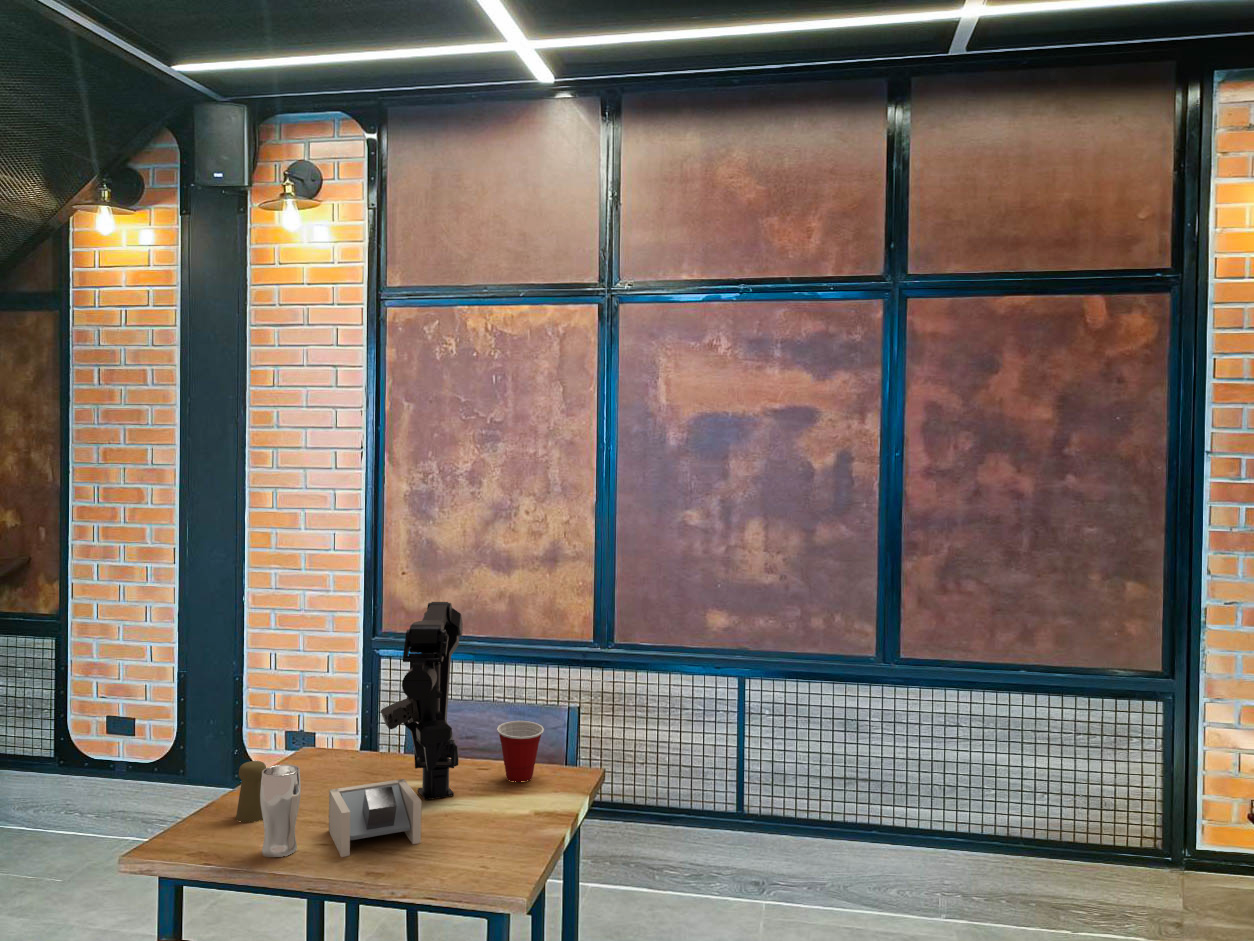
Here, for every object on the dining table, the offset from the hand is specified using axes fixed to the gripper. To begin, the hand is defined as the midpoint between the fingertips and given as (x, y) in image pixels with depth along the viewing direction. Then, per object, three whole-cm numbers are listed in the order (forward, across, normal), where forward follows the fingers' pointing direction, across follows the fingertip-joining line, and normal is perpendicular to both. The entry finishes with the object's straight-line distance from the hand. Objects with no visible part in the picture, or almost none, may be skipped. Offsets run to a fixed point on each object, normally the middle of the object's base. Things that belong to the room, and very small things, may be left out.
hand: (424, 763), depth 180 cm
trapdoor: (+7, +4, -10) cm, 13 cm away
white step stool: (+12, +3, -11) cm, 16 cm away
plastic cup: (+12, -16, +26) cm, 33 cm away
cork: (+12, -17, -31) cm, 37 cm away
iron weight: (+7, +6, -10) cm, 14 cm away
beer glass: (+12, +3, -28) cm, 30 cm away
